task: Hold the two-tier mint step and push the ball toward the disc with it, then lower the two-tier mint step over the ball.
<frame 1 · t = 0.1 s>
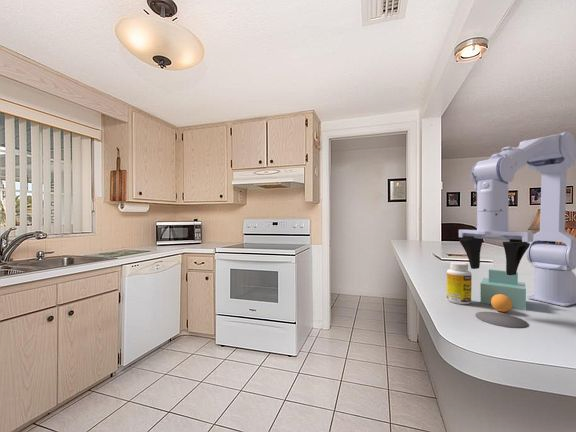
hand: (492, 271, 62), 10 cm above the countertop, tool pointing down, fingers open, 7 cm apart
two-tier mint step: (502, 302, 73), on the countertop
ball: (501, 302, 65), on the countertop
disc: (500, 319, 60), on the countertop
supplement bottle: (458, 302, 73), on the countertop
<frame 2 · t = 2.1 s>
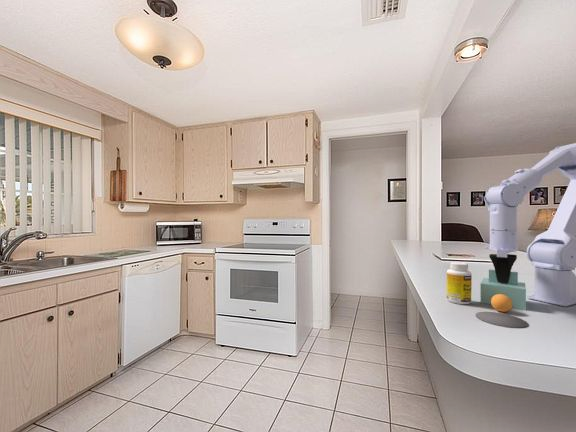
hand: (502, 281, 73), 5 cm above the countertop, tool pointing down, fingers closed on two-tier mint step
two-tier mint step: (502, 302, 73), on the countertop, touching gripper
everything else where it was.
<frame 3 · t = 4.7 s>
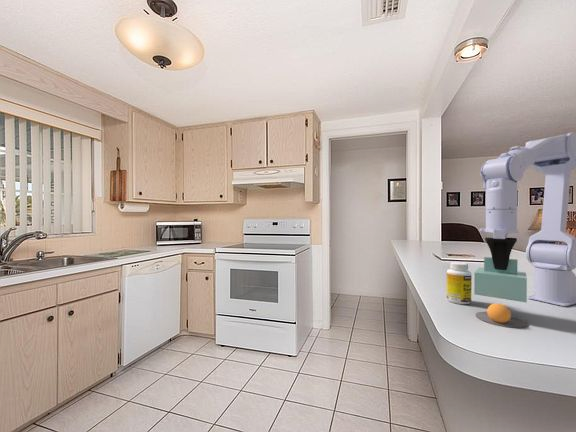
hand: (500, 268, 63), 10 cm above the countertop, tool pointing down, fingers closed on two-tier mint step
two-tier mint step: (500, 294, 63), point 5 cm above the countertop, touching gripper
ball: (498, 313, 58), on the countertop
everything else where it was.
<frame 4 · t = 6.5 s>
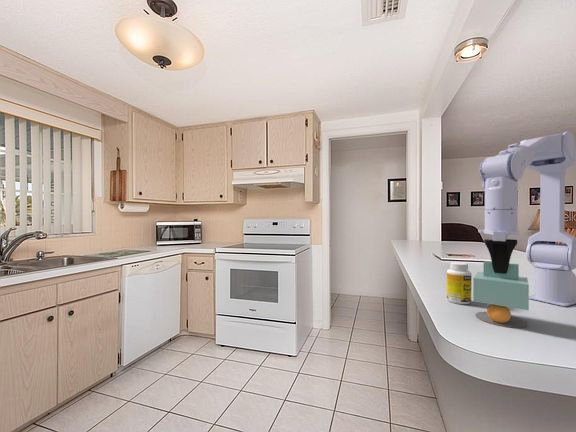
hand: (500, 272, 60), 10 cm above the countertop, tool pointing down, fingers closed on two-tier mint step
two-tier mint step: (500, 300, 60), point 4 cm above the countertop, touching gripper
everything else where it was.
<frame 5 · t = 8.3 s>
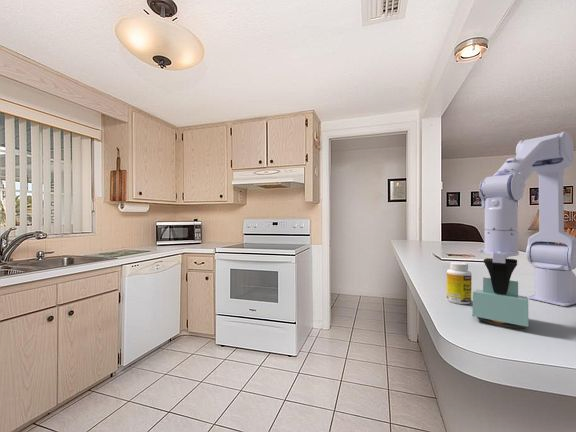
hand: (500, 292, 60), 6 cm above the countertop, tool pointing down, fingers closed on two-tier mint step
two-tier mint step: (499, 318, 59), point 1 cm above the countertop, tilted 8°, touching gripper
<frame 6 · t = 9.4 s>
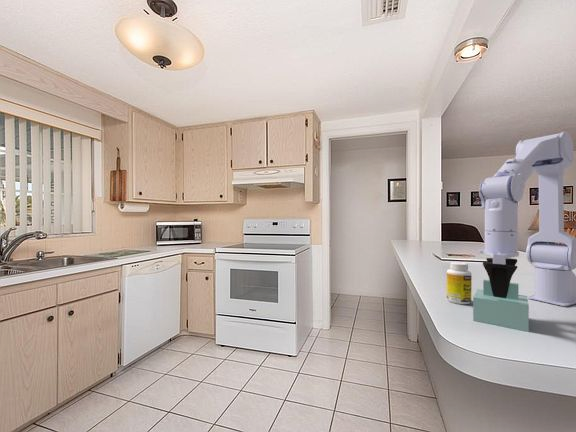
hand: (500, 293, 60), 6 cm above the countertop, tool pointing down, fingers open, 7 cm apart
two-tier mint step: (500, 319, 60), on the countertop
ball: (498, 311, 59), on the countertop
everything else where it was.
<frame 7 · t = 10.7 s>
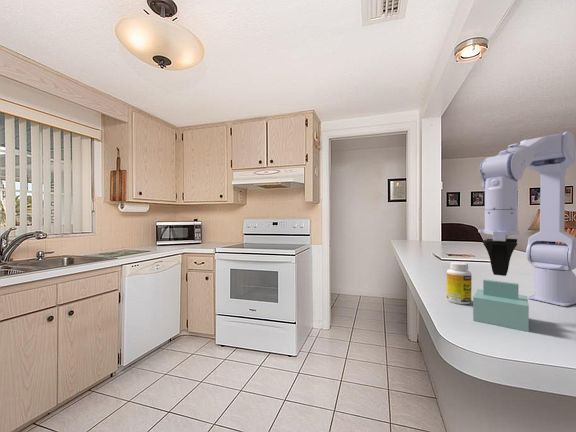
hand: (500, 272, 60), 10 cm above the countertop, tool pointing down, fingers open, 7 cm apart
nothing on the countertop moved.
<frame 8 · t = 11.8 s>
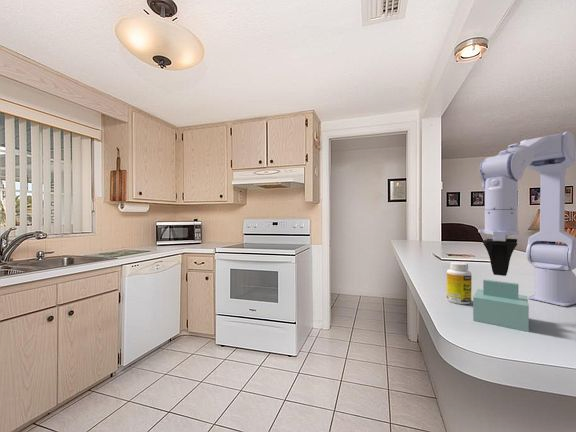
hand: (500, 272, 60), 10 cm above the countertop, tool pointing down, fingers open, 7 cm apart
nothing on the countertop moved.
at the end: ball 1.4 cm from the two-tier mint step (horizontally); two-tier mint step on the countertop; ball moved 8.3 cm from its start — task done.
